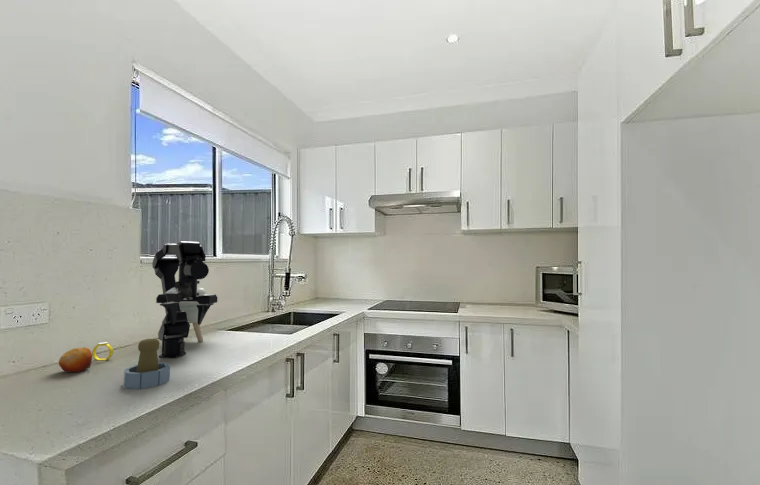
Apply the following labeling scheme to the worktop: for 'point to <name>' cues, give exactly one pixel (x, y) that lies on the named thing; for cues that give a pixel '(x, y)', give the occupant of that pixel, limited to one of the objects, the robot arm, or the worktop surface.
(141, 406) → the worktop surface
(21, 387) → the worktop surface
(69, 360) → the fruit
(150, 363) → the cork
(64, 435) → the worktop surface
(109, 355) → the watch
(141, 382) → the bowl
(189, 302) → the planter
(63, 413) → the worktop surface
